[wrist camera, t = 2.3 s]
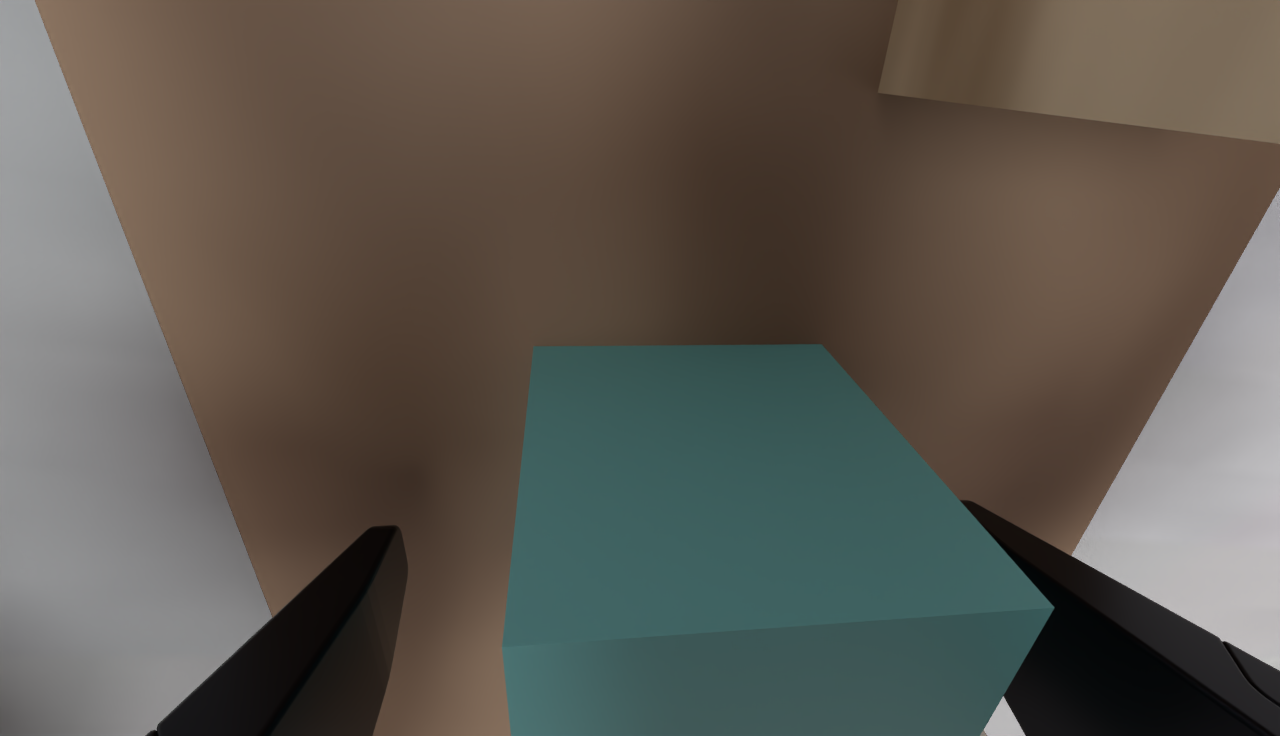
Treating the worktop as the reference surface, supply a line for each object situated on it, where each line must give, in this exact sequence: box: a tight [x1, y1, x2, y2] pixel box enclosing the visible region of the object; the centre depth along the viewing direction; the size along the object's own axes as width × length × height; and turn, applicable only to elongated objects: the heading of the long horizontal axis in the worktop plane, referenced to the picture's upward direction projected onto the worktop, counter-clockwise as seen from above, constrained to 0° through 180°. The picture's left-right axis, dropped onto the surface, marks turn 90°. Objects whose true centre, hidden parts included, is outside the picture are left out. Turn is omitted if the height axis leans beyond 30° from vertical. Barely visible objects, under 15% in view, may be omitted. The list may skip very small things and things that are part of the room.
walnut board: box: [35, 0, 1280, 736], centre depth 12 cm, size 18×25×1 cm
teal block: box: [502, 344, 1054, 736], centre depth 9 cm, size 5×5×6 cm
